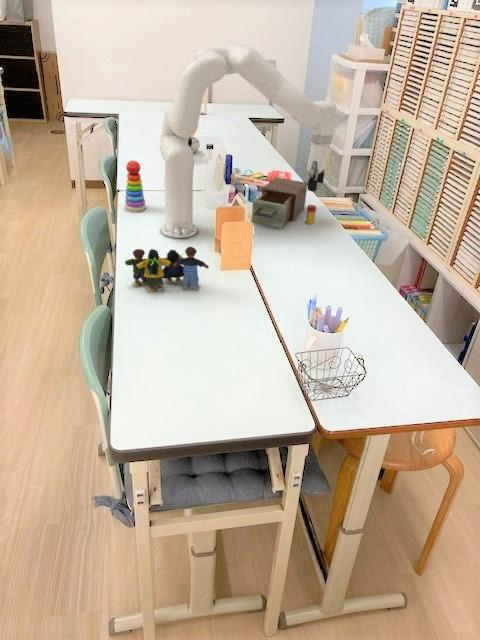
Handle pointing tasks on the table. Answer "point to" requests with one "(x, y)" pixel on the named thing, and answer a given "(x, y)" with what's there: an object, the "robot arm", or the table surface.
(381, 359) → the table surface
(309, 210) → the glue stick
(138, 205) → the stacking toy
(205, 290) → the table surface
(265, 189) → the cabinet
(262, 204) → the drawer
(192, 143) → the paint bucket
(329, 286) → the table surface
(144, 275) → the doll family
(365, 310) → the table surface
